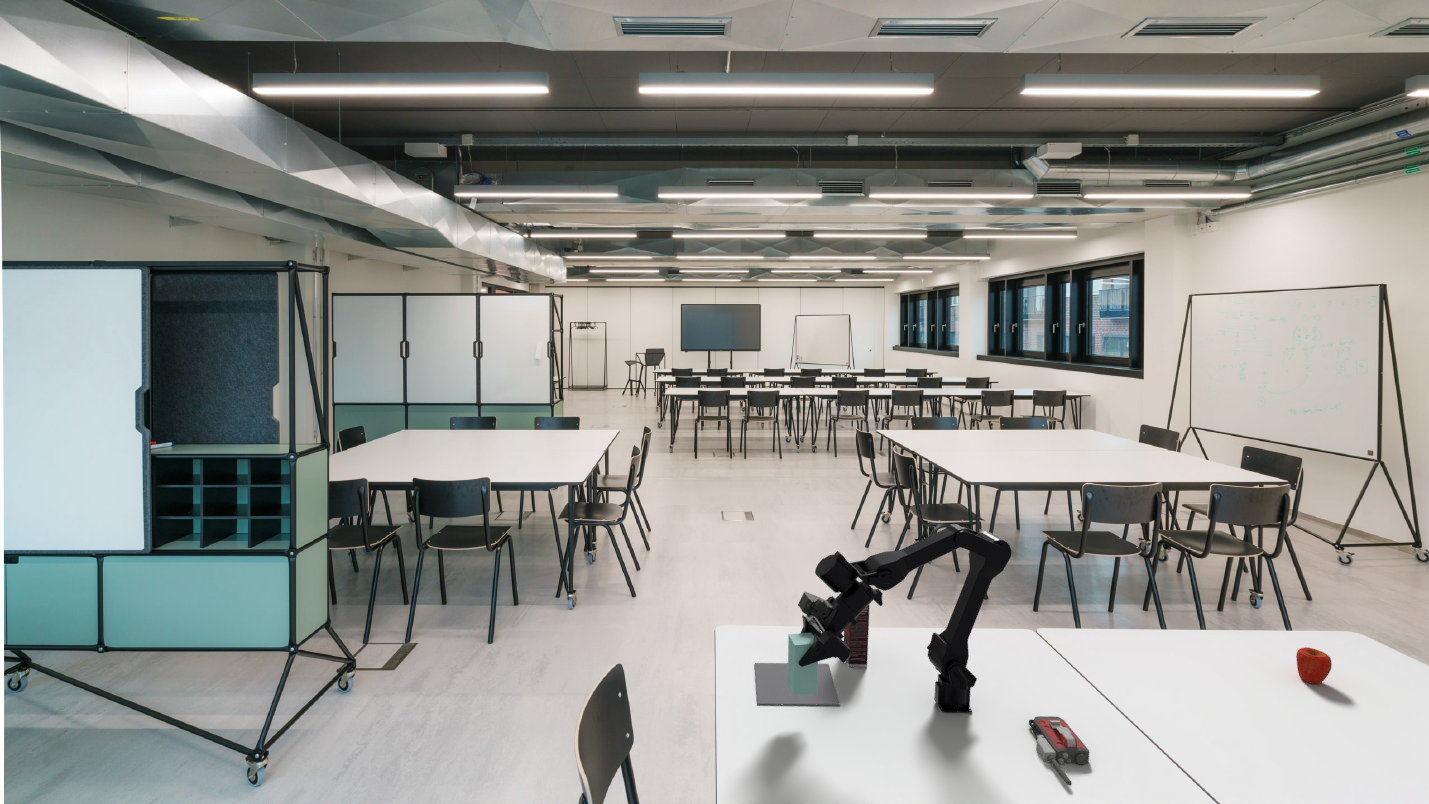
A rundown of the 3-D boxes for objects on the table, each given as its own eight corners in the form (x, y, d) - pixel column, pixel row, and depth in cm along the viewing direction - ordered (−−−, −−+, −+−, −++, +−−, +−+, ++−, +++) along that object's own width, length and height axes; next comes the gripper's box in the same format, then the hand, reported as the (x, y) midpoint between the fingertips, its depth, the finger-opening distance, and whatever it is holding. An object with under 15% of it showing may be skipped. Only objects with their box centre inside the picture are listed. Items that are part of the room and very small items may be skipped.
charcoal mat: (828, 664, 175) (828, 663, 175) (839, 705, 158) (839, 704, 157) (754, 664, 176) (754, 662, 176) (757, 704, 158) (757, 703, 158)
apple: (1334, 684, 166) (1338, 654, 165) (1318, 690, 164) (1322, 659, 163) (1304, 672, 172) (1307, 642, 171) (1287, 676, 170) (1291, 647, 169)
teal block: (810, 680, 155) (811, 632, 153) (817, 693, 150) (818, 643, 148) (787, 682, 154) (788, 634, 152) (793, 695, 149) (794, 645, 147)
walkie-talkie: (1018, 726, 150) (1063, 791, 131) (1019, 707, 150) (1065, 768, 130) (1060, 727, 150) (1111, 791, 131) (1061, 707, 150) (1113, 769, 130)
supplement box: (868, 668, 174) (870, 605, 172) (848, 667, 174) (850, 605, 172) (861, 650, 182) (863, 591, 180) (842, 650, 182) (844, 591, 180)
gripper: (809, 565, 158) (760, 616, 158) (836, 599, 140) (781, 656, 140) (843, 596, 161) (794, 647, 160) (874, 634, 142) (819, 691, 142)
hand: (796, 658), depth 151 cm, fingers closed on teal block, 5 cm apart
